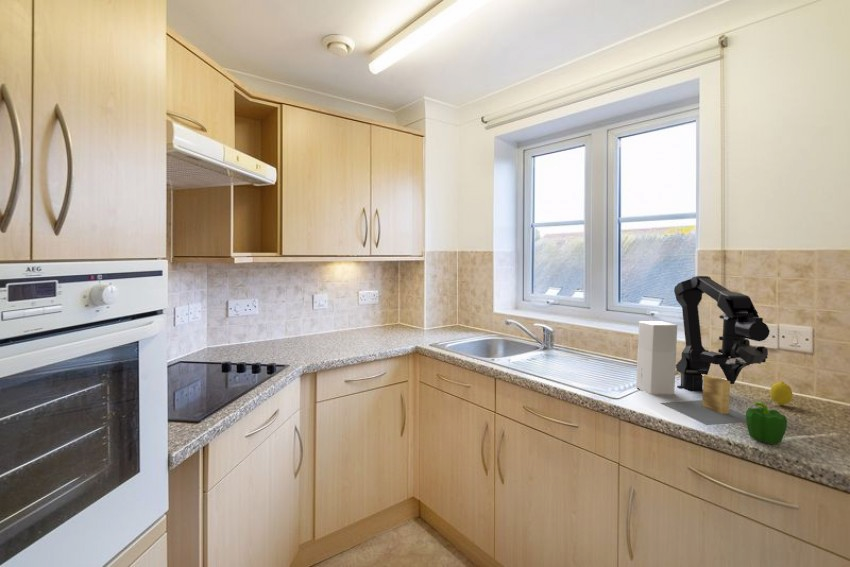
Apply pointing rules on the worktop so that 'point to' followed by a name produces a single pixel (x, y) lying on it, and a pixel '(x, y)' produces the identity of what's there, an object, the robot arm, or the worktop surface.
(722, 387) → the ochre block
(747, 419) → the bell pepper
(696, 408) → the rubber mat
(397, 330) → the worktop surface
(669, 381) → the tall white carton
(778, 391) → the lemon
